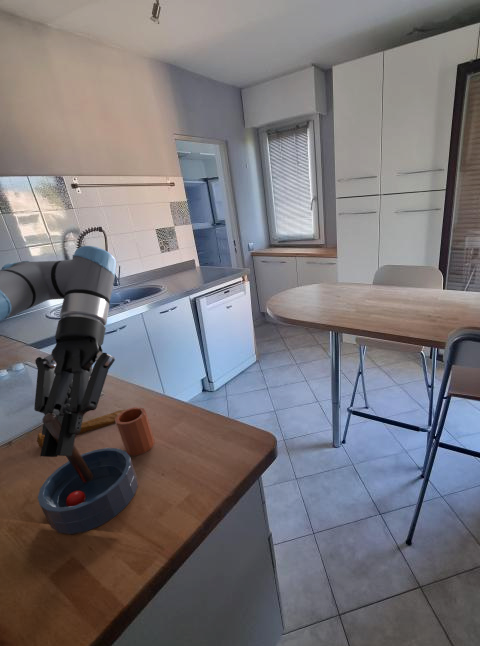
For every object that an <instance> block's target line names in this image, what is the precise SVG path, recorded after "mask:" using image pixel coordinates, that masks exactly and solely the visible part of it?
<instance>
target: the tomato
mask: <svg viewBox="0 0 480 646" xmlns="http://www.w3.org/2000/svg"><path fill="white" fill-rule="evenodd" d="M85 499H86V496H85V494H84V493H83V492H82V491H74V492H72V493H71V494H69V496H68V497H67V499H66V505H67V507H70V506H76V505H78V504H81V503H84V502H85Z"/></svg>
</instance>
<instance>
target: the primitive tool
mask: <svg viewBox="0 0 480 646" xmlns="http://www.w3.org/2000/svg"><path fill="white" fill-rule="evenodd" d="M125 410H126V409H120V410H116V411H114V412H110V413H107V414H105V415H102V416H99V417H95V418H92V419H88V420H86V421H82V424H81V430H80V432H79V434H76V435H75V436H77V435H80V434H84V433H86V432H90V431H93V430H97V429H101V428H103V427H106V426H110V425H113V424H114V425H115V424H116V423H115V418H116V416H117V415H119V414H120V413H121V412H123V411H125ZM44 437H45V435H42V432H39V433H38V434H37V438H36V442H37V444H38V447H39V448H42V446H43V441H44Z"/></svg>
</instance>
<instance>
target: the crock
mask: <svg viewBox="0 0 480 646" xmlns="http://www.w3.org/2000/svg"><path fill="white" fill-rule="evenodd" d="M124 410H125V411H123V412H121V413H120V414H119V415H117V416H116V418H115V423H114V424H115V426H116V429H117V431H118V434H119V437H120V439H121V442H122V446H123V449H124V451H126V452H127V454H128V455H129V456H139V455H143V454H145V453H146V452H148V451H150V450H151V449H152V448H153V446H154V445H155V438H154V437H155V436H154V435H153V431H152V428H151V425H150V424H151V423H150V420H149V418H148V415H147V411H146V409H145V408H143V407H140V406H137V407H131V408H127V409H124Z"/></svg>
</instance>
